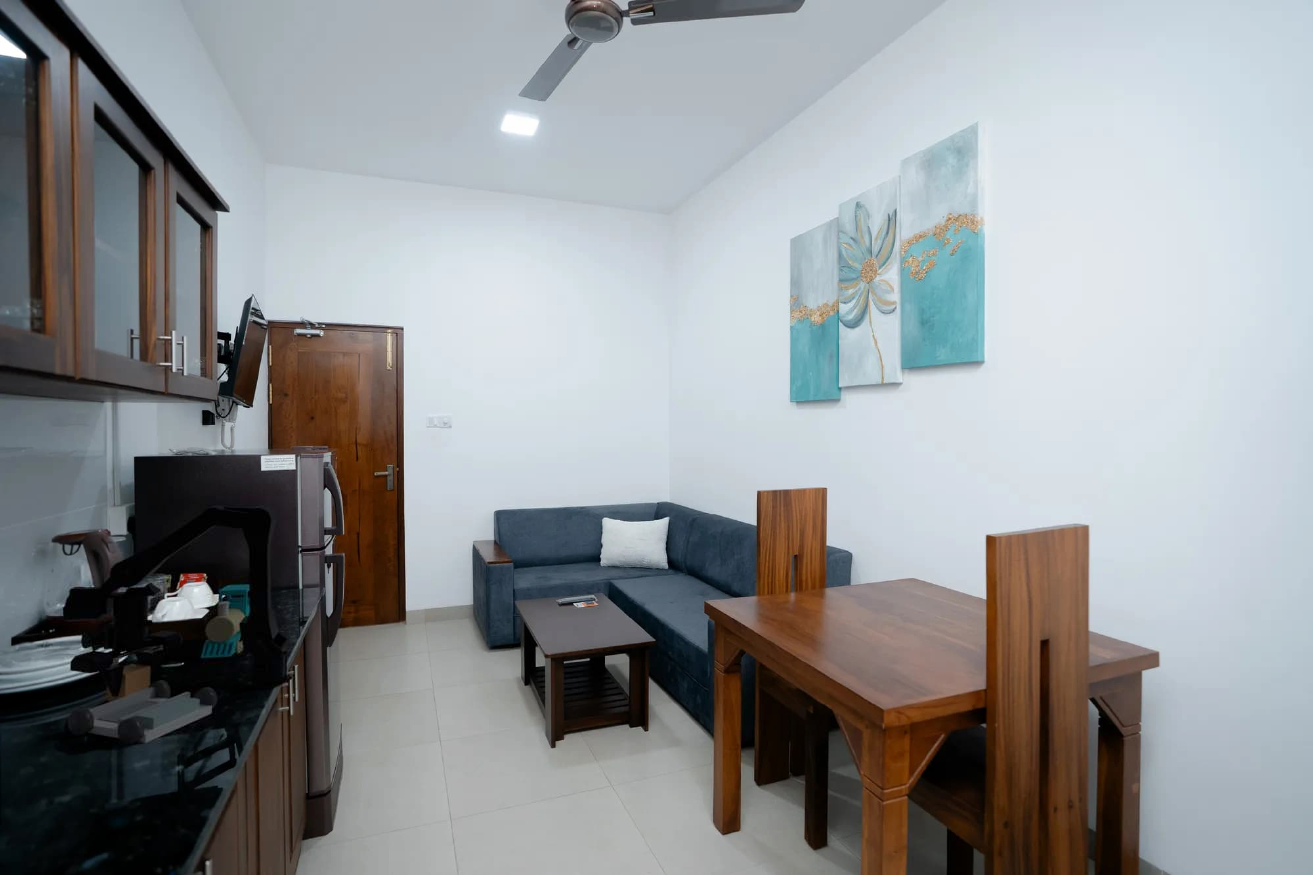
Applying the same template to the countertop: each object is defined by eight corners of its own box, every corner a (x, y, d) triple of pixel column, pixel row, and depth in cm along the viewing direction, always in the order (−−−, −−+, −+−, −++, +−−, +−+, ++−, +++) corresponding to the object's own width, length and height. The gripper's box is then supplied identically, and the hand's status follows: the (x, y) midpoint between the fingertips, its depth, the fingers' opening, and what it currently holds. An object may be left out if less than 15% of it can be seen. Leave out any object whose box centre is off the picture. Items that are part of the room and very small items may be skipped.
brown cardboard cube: (131, 691, 137) (132, 663, 137) (149, 694, 136) (150, 666, 136) (106, 700, 132) (107, 671, 132) (125, 703, 131) (125, 674, 131)
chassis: (152, 700, 133) (153, 678, 133) (218, 710, 129) (218, 688, 129) (66, 733, 118) (66, 709, 118) (137, 746, 113) (138, 721, 113)
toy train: (196, 662, 155) (198, 600, 155) (223, 640, 171) (225, 585, 171) (233, 660, 157) (235, 599, 157) (256, 639, 173) (258, 584, 173)
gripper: (145, 603, 145) (144, 671, 145) (50, 625, 127) (48, 704, 127) (184, 607, 142) (182, 677, 142) (92, 631, 124) (90, 711, 124)
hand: (128, 691), depth 134 cm, fingers closed on brown cardboard cube, 5 cm apart
